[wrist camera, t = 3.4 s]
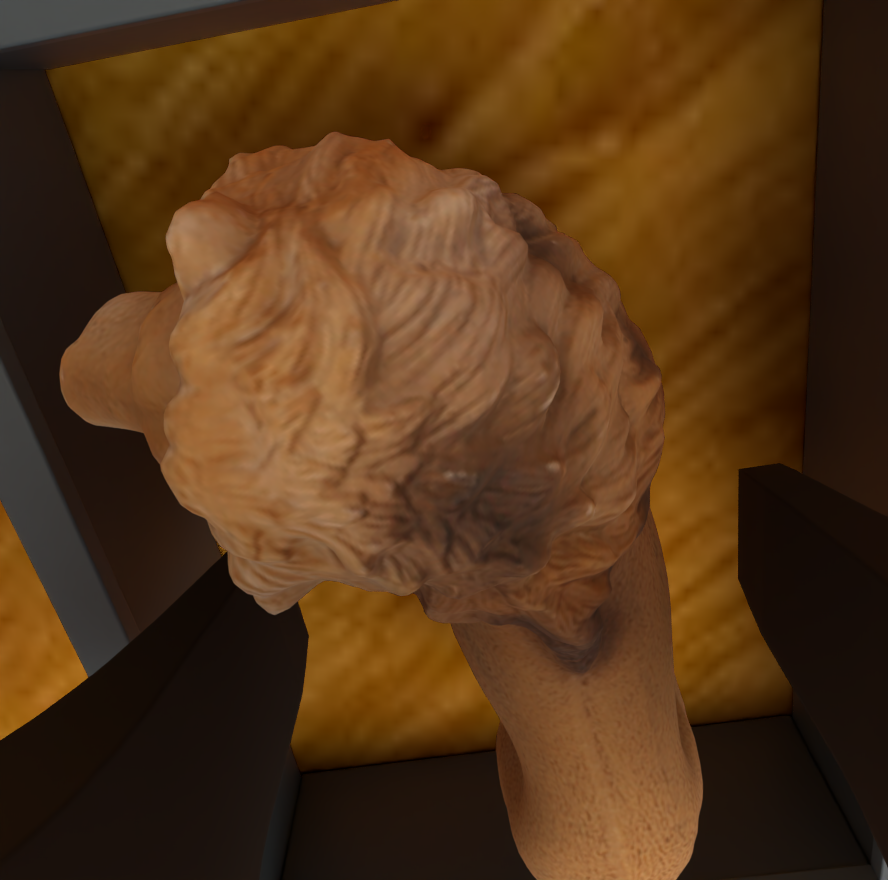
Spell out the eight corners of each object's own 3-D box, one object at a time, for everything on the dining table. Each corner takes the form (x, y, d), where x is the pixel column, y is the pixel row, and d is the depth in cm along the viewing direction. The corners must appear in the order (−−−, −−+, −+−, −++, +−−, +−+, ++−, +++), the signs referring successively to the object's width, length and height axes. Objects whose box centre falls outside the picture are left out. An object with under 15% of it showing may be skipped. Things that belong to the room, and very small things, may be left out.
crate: (277, 799, 19) (236, 976, 16) (-28, 19, 12) (-254, -4, 8) (825, 734, 18) (924, 906, 15) (891, -168, 11) (1136, -299, 7)
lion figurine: (197, 189, 13) (-231, 402, 5) (482, 27, 12) (568, -62, 4) (544, 749, 19) (622, 1277, 10) (756, 675, 17) (1025, 1198, 9)
